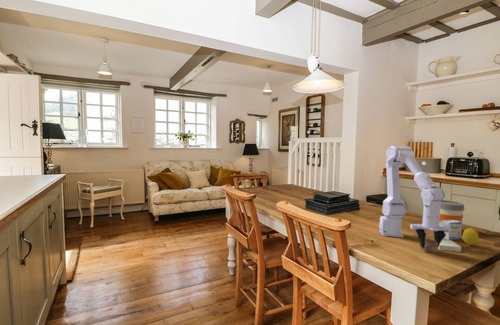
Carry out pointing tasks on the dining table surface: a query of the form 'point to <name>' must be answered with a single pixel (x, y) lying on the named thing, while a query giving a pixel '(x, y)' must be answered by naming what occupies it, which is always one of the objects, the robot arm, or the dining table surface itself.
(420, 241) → the robot arm
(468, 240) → the lemon
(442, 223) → the medicine box
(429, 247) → the walnut cube
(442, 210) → the reusable coffee cup
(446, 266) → the dining table surface
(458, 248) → the base brick
